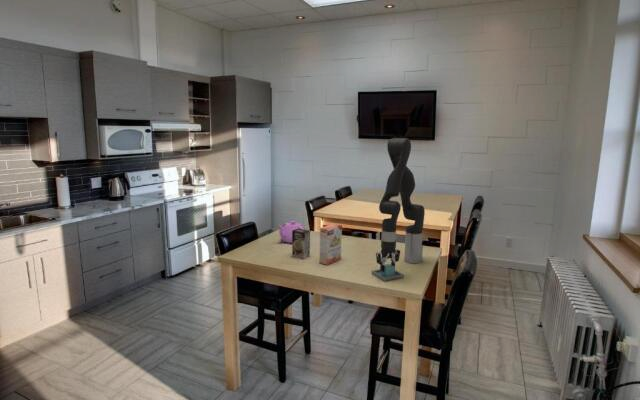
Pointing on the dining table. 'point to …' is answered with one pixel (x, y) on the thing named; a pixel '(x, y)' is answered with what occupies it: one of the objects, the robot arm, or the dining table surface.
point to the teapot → (288, 230)
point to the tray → (383, 278)
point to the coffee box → (301, 243)
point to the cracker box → (330, 243)
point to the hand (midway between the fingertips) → (387, 270)
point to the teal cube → (388, 270)
